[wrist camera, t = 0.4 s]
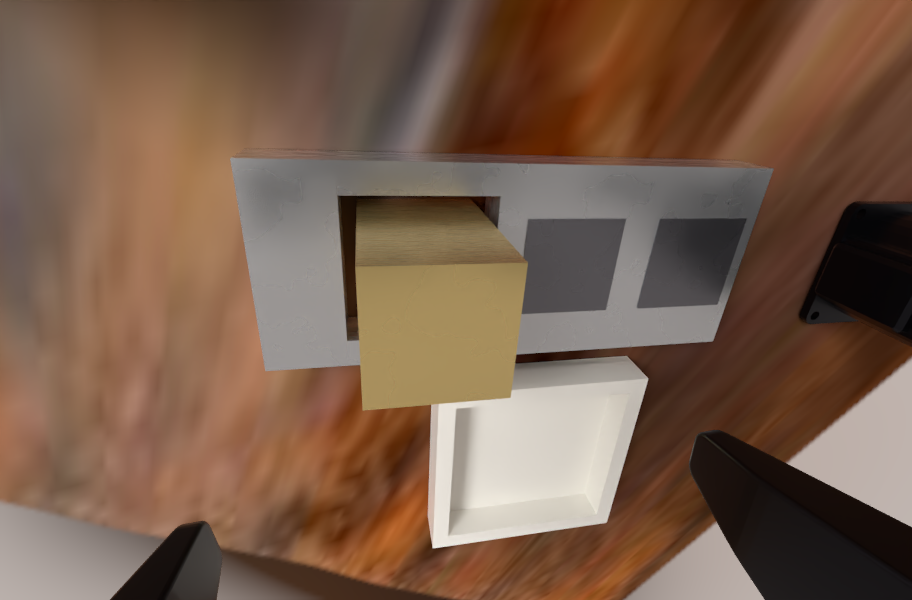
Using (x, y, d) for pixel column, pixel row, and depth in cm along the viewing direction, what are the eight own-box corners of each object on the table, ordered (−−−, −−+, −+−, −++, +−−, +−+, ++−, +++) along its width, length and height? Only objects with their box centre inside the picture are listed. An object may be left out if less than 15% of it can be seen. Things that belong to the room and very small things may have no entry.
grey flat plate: (736, 159, 20) (774, 168, 18) (686, 321, 23) (713, 341, 21) (244, 148, 16) (229, 158, 14) (273, 343, 19) (265, 371, 17)
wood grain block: (470, 198, 18) (528, 262, 12) (464, 299, 20) (510, 397, 14) (356, 198, 17) (355, 266, 11) (361, 303, 19) (362, 410, 13)
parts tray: (626, 355, 23) (648, 378, 22) (591, 494, 28) (606, 522, 26) (432, 369, 21) (439, 395, 20) (427, 516, 26) (432, 548, 24)
